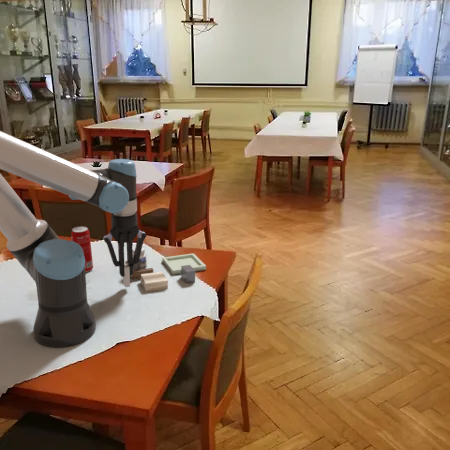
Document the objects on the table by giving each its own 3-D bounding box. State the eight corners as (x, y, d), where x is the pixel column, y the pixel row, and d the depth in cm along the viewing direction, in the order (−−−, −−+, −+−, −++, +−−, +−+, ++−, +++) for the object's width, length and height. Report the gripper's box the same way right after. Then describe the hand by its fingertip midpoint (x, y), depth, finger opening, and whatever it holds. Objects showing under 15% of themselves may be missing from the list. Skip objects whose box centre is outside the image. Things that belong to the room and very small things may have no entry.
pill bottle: (143, 275, 151) (142, 252, 148) (129, 274, 152) (129, 250, 149) (148, 270, 155) (147, 247, 152) (135, 268, 156) (134, 245, 153)
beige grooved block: (167, 289, 143) (167, 280, 142) (145, 292, 141) (145, 283, 140) (162, 279, 149) (162, 271, 148) (141, 282, 147) (140, 274, 146)
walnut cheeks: (153, 276, 151) (153, 269, 150) (132, 279, 148) (132, 272, 147) (145, 265, 159) (145, 258, 158) (125, 267, 156) (125, 261, 155)
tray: (206, 269, 157) (206, 265, 157) (173, 274, 152) (173, 270, 152) (193, 257, 167) (193, 253, 167) (162, 261, 163) (162, 257, 162)
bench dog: (195, 281, 148) (195, 270, 147) (186, 283, 147) (186, 271, 145) (189, 275, 152) (189, 264, 151) (181, 277, 151) (181, 266, 150)
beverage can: (95, 266, 156) (93, 225, 151) (88, 274, 150) (85, 232, 145) (79, 265, 157) (76, 224, 152) (71, 273, 150) (67, 230, 146)
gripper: (142, 207, 139) (143, 276, 147) (99, 210, 134) (103, 283, 141) (149, 214, 133) (150, 286, 140) (103, 218, 127) (107, 293, 135)
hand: (126, 284), depth 141 cm, fingers closed
